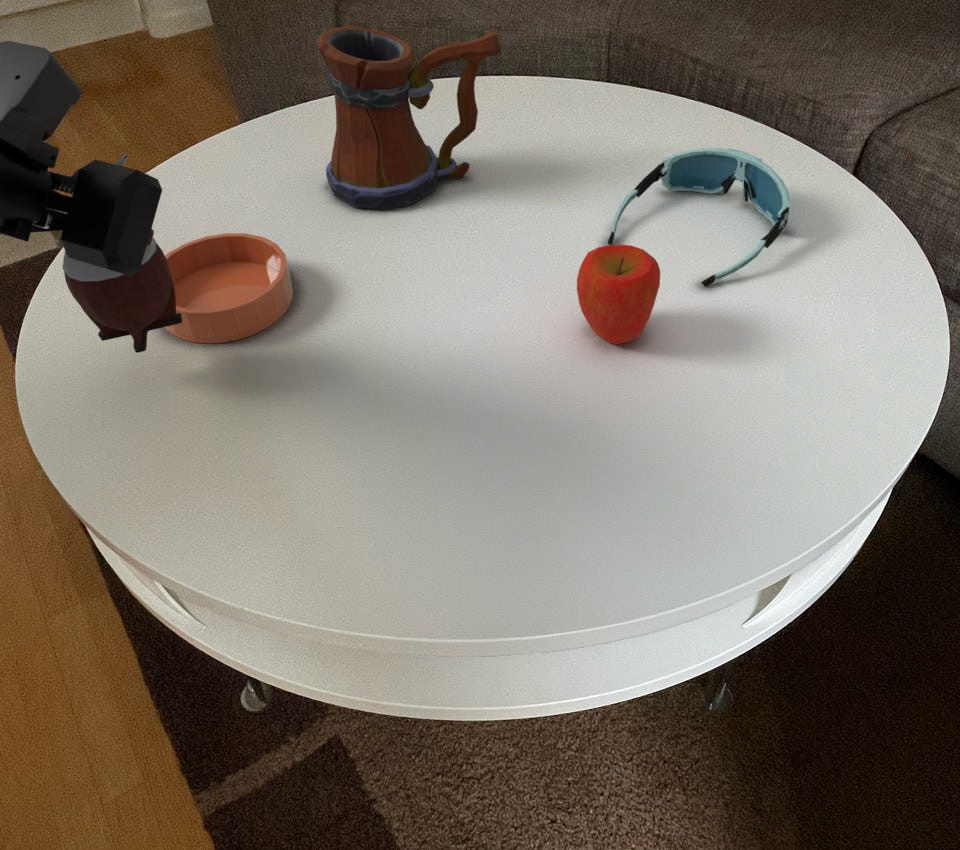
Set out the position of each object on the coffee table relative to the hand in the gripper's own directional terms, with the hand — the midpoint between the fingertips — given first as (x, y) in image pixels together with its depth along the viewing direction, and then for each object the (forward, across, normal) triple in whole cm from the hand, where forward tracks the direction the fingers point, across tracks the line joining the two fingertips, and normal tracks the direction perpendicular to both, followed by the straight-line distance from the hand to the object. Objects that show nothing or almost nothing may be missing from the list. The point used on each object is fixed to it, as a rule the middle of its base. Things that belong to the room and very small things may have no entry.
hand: (119, 229), depth 66 cm
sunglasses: (+33, -34, -16) cm, 50 cm away
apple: (+21, -32, -4) cm, 39 cm away
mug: (+32, -5, -15) cm, 35 cm away
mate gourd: (+5, -1, +7) cm, 8 cm away
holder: (+14, 0, +3) cm, 15 cm away
